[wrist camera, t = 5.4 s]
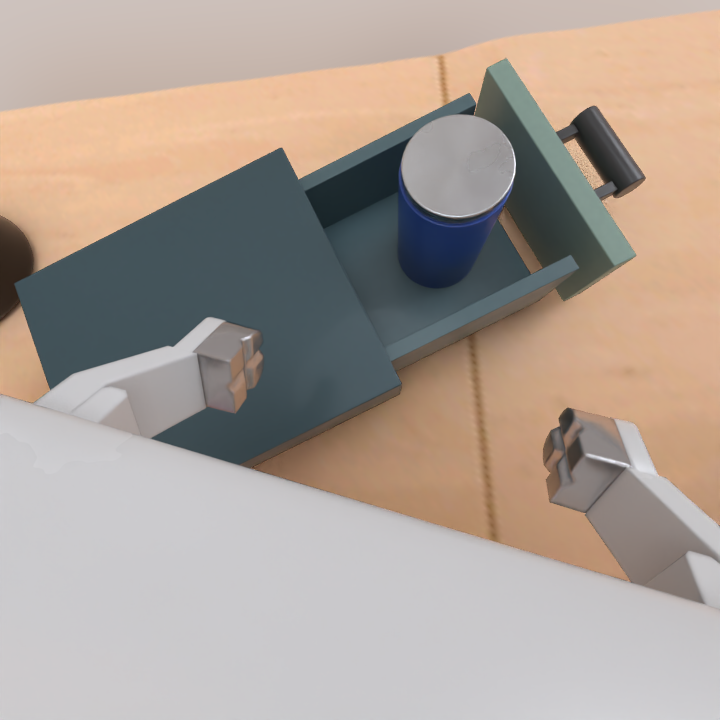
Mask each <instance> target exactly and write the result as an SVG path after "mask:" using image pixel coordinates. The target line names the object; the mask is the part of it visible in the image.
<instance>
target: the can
mask: <svg viewBox="0 0 720 720" xmlns="http://www.w3.org/2000/svg"><path fill="white" fill-rule="evenodd" d="M515 171H516V159H515V154H514V150H513V148H512V145H511V143H510V141H509V139H508V138H507V137H506V135H505V134H504V133H503V132H502V131H501V130H500V129H499V128H498V127H497V126H495V125H494V124H492V123H491V122H489V121H487V120H485V119H483V118H480V117H476V116H472V115H464V114H457V115H448V116H444V117H441V118H438V119H435V120H433V121H431V122H429V123H428V124H426V125H425V126H423V127H422V128H421V129H419V130H418V131H417V132H416V133H415V134H414V136H413V137H412V138H411V139H410V141H409V143H408V144H407V146H406V148H405V151H404V153H403V157H402V160H401V164H400V167H399V185H398V259H399V263H400V265H401V268H402V269H403V271H404V273H405V274H406V275H407V276H408V277H409V278H410V279H411V280H412V281H414V282H415V283H417V284H419V285H421V286H424V287H428V288H445V287H449V286H452V285H454V284H456V283H458V282H460V281H461V280H462V279H463V278H464V277H465V276H466V275H467V274H468V273H469V272H470V270H471V269H472V267H473V265H474V263H475V261H476V259H477V257H478V255H479V253H480V251H481V249H482V248H483V246H484V244H485V242H486V240H487V238H488V236H489V234H490V232H491V230H492V228H493V226H494V224H495V222H496V220H497V218H498V216H499V214H500V213H501V211H502V209H503V207H504V205H505V203H506V201H507V199H508V197H509V195H510V192H511V190H512V187H513V182H514V177H515Z"/></svg>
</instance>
